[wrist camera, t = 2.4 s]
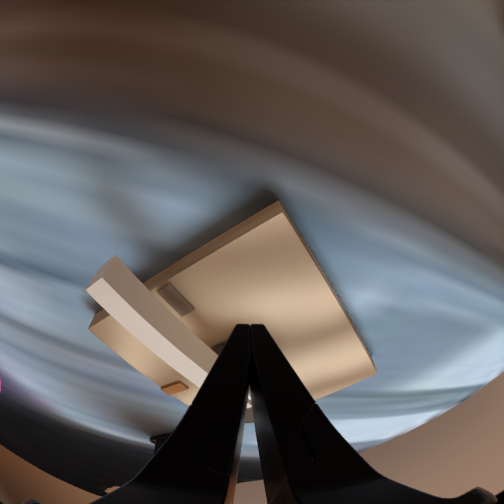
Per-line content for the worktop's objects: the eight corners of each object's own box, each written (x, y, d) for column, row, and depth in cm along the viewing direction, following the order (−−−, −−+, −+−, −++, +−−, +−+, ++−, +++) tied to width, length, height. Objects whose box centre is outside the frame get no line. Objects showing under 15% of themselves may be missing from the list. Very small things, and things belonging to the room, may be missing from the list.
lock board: (371, 358, 21) (378, 374, 19) (225, 413, 24) (224, 429, 23) (278, 199, 14) (283, 214, 13) (95, 313, 18) (86, 330, 16)
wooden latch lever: (296, 369, 18) (303, 412, 15) (233, 393, 19) (233, 432, 17) (157, 214, 12) (134, 253, 10) (91, 266, 14) (64, 307, 11)
